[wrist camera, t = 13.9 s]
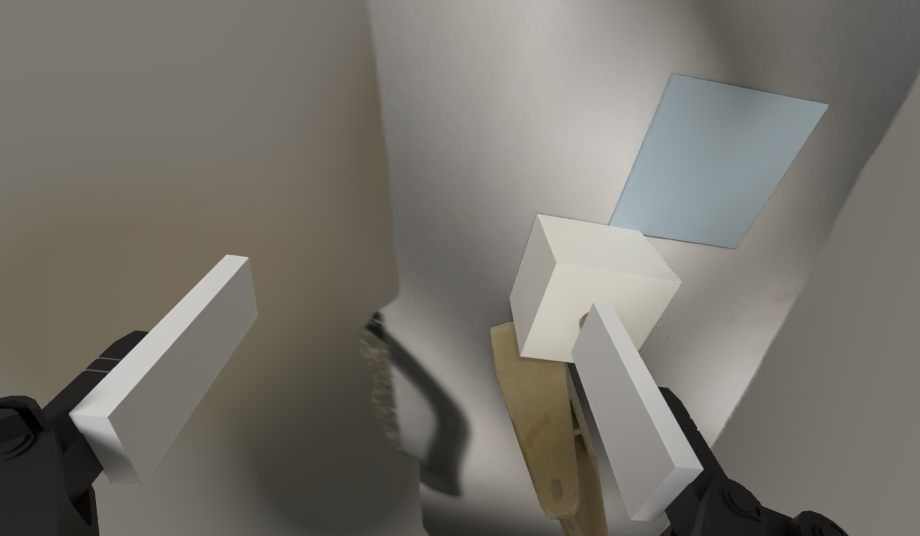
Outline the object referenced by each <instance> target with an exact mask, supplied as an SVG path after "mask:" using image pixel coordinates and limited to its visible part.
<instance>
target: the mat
mask: <svg viewBox="0 0 920 536" xmlns="http://www.w3.org/2000/svg"><path fill="white" fill-rule="evenodd" d="M828 106H829V105H828V104H823V103H818V102H813V101H808V100H803V99H798V98H793V97H788V96H783V95H778V94H773V93H768V92H763V91H758V90H753V89H748V88H743V87H738V86H733V85H728V84H722V83H717V82H712V81H707V80H702V79H697V78H692V77H687V76H682V75H677V74H671V76H670V79H669V81H668V83H667V86H666V88H665V91H664V93H663V95H662V98H661V100H660V103H659V105H658V107H657V110H656V112H655V114H654V117H653V119H652V122H651V124H650V126H649V129H648V131H647V133H646V136H645V138H644V141H643V143H642V145H641V148H640V150H639V153H638V155H637V157H636V160H635V162H634V164H633V167H632V169H631V172H630V174H629V176H628V179H627V181H626V183H625V186H624V188H623V191H622V193H621V195H620V198H619V200H618V203H617V205H616V207H615V210H614V212H613V214H612V217H611V219H610V222H609V224H608V226H613V227H619V228H625V229H631V230H637V231H640V232H641V233H642V234H643V235H649V236H656V237H663V238H669V239H676V240H682V241H689V242H695V243H702V244H709V245H715V246H722V247H728V248H735V249H736V248H737V247H738V245H739V244H740V242H741V241H742V239H743V238H744V236H745V235H746V233H747V231H748V230H749V228H750V227H751V225H752V224H753V222H754V221H755V219H756V218H757V216H758V214H759V213H760V211H761V210H762V208H763V207H764V205H765V204H766V202H767V201H768V199H769V197H770V196H771V194H772V193H773V191H774V190H775V188H776V187H777V185H778V183H779V182H780V180H781V179H782V177H783V176H784V174H785V173H786V171H787V170H788V168H789V166H790V165H791V163H792V162H793V160H794V159H795V157H796V156H797V154H798V153H799V151H800V149H801V148H802V146H803V145H804V143H805V142H806V140H807V139H808V137H809V135H810V134H811V132H812V131H813V129H814V128H815V126H816V125H817V123H818V122H819V120H820V118H821V117H822V115H823V114H824V112H825V111H826V109H827V108H828Z"/></svg>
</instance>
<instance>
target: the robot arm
mask: <svg viewBox="0 0 920 536" xmlns="http://www.w3.org/2000/svg"><path fill="white" fill-rule="evenodd" d="M257 316H258V313H257V308H256V301H255V294H254V288H253V281H252V274H251V268H250V261H249V258H248V257H240V256H233V255H226V256H225V257H224V258H223V259H222V260H221V261H220V262H219V263H218V264H217V265H216V266H215V267H214V268H213V269H212V270H211V271H210V272H209V273H208V274H207V275H206V276H205V277H204V278H203V279H202V280H201V281H200V282H199V283H198V284H197V285H196V286H195V287H194V288H193V289H192V290H191V292H189V293H188V294H187V295H186V296H185V297H184V298H183V299H182V300H181V301H180V302H179V303H178V304H177V305H176V306H175V307H174V308H173V309H172V310H171V311H170V312H169V313H168V314H167V315H166V316H165V317H164V318H163V319H162V320H161V321H160V322H159V323H158V325H156V326H155V327H154V328H153V329H152V330H151V331H150V332H145V331H134V332H132V333H130V334H128V335H126V336H124V337H123V338H121V339H119V340H117V341H116V342H114V343H113V344H112V345H111V346H110V347H109V348H108V349H106V350H105V351H104V352H103V353H102V354H101V355H100V356H99V359H96V360H95V361H94V362H92V364H90V366H88V367H87V368H86V371H84V372H82V373H81V374H80V375H78V376H77V377H76V378H75V379H74V380H73V381H72V382H71V383H70V384H69V385H68V386H67V387H66V388H65V389H63V390H62V391H61V392H60V393H59V394H58V395H57V396H56V397H55V398H54V399H53V400H52V401H51V402H49V403H48V404H47V405H46V406H45V407H44V408H43V409H41V408H40V406H39V405H38V404H37V402H36V401H35V400H34V399H32V398H30V397H27V396H8V397H3V398H0V536H99V527H98V517H97V508H96V499H95V491H94V489H93V487H92V485H91V484H92V483H93V482H94V480H95V479H96V478H97V477H98V475H99V474H100V473H101V472H102V470H103V471H104V473H105V474H106V476H107V478H108V479H109V481H110V482H111V483H124V484H137V485H143V484H144V483H145V481H146V480H147V478H148V477H149V475H150V474H151V472H152V471H153V470H154V468H155V467H156V465H157V464H158V462H159V461H160V459H161V458H162V456H163V455H164V453H165V452H166V450H167V449H168V447H169V446H170V444H171V443H172V441H173V440H174V439H175V437H176V435H177V434H178V433H179V431H180V430H181V428H182V427H183V425H184V424H185V422H186V421H187V419H188V418H189V416H190V415H191V414H192V412H193V410H194V409H195V408H196V406H197V405H198V403H199V402H200V400H201V399H202V397H203V396H204V394H205V393H206V391H207V390H208V388H209V387H210V385H211V384H212V382H213V381H214V380H215V378H216V377H217V375H218V374H219V372H220V371H221V369H222V367H223V366H224V365H225V363H226V362H227V360H228V359H229V357H230V356H231V354H232V353H233V352H234V350H235V349H236V347H237V346H238V344H239V343H240V341H241V340H242V338H243V337H244V335H245V334H246V332H247V331H248V329H249V328H250V327H251V325H252V324H253V322H254V321H255V319H256V318H257ZM571 354H572V357H573V360H574V362H575V365H576V368H577V371H578V374H579V376H580V379H581V382H582V385H583V388H584V390H585V393H586V396H587V399H588V402H589V405H590V407H591V410H592V413H593V416H594V419H595V421H596V424H597V427H598V430H599V433H600V435H601V438H602V441H603V444H604V447H605V450H606V452H607V455H608V458H609V461H610V464H611V466H612V469H613V472H614V475H615V478H616V480H617V483H618V486H619V489H620V492H621V494H622V497H623V500H624V503H625V506H626V509H627V511H628V514H629V517H630V520H640V521H654V522H655V521H656V520H657V519H658V518H659V517H660V516H661V515H662V514H663V513H664V512H666V514H667V516H668V519H669V521H670V523H671V524H670V525H669V526H668V527H667V528H666V529H665V530H664V531H663V532H662V533H661V534H660V535H659V536H848V535H847V533H846V532H845V531H844V530H842V529H841V528H840V527H839V526H838V525H837V524H835V523H834V522H833V521H831V520H830V519H828V518H826V517H825V516H823V515H821V514H818V513H816V512H813V511H802V512H801V513H800V514H798V515H797V516H796V517H794V518H791V517H788V516H786V515H783V514H781V513H778V512H776V511H773V510H771V509H768V508H766V507H763V506H761V504H760V502H759V501H758V500H757V499H756V498H755V496H754V495H753V494H752V493H751V492H750V491H749V490H747V489H746V488H745V487H743V486H742V485H741V484H739V483H737V482H735V481H733V480H731V479H728V477H727V476H726V475H725V473H724V471H723V470H722V468H721V467H720V465H719V463H718V461H717V460H716V458H715V456H714V455H713V453H712V451H711V450H710V448H709V446H708V445H707V443H706V442H705V440H704V438H703V437H702V435H701V433H700V432H699V431H697V427H696V425H695V423H694V422H693V420H692V419H690V415H689V413H688V412H687V410H686V408H685V407H684V405H683V403H682V402H681V401H680V400H679V399H678V398H677V397H676V396H675V395H674V394H673V393H672V392H671V391H670V390H669V389H668V388H664V387H657V385H656V384H655V382H654V380H653V378H652V376H651V375H650V373H649V371H648V369H647V368H646V366H645V364H644V362H643V360H642V359H641V357H640V355H639V353H638V351H637V350H636V348H635V346H634V344H633V343H632V341H631V339H630V337H629V335H628V334H627V332H626V330H625V328H624V327H623V325H622V323H621V321H620V319H619V318H618V316H617V314H616V312H615V310H614V309H613V307H612V305H607V304H599V303H593V304H592V307H591V309H590V311H589V313H588V315H587V318H586V320H585V322H584V324H583V327H582V329H581V331H580V333H579V335H578V338H577V340H576V342H575V344H574V346H573V349H572V351H571Z"/></svg>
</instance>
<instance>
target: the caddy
mask: <svg viewBox="0 0 920 536" xmlns="http://www.w3.org/2000/svg"><path fill="white" fill-rule="evenodd" d="M490 333H491V343H492V351H493V358H494V368H495V374H496V378H497V381H498V383H499V386H500V389H501V392H502V395H503V398H504V401H505V404H506V406H507V409H508V412H509V415H510V418H511V421H512V424H513V427H514V430H515V433H516V436H517V439H518V442H519V445H520V448H521V451H522V454H523V457H524V460H525V462H526V465H527V468H528V471H529V474H530V477H531V480H532V483H533V485H534V488H535V491H536V494H537V497H538V500H539V503H540V506H541V508H542V509H543V511H544V512H545V514H546V515H547V516H548V517H549V518H551V519H559V521H560V524H561V527H562V529H563V532H564V535H565V536H608V530H607V523H606V517H605V510H604V503H603V497H602V491H601V484H600V478H599V472H598V464H597V459H596V455H595V452H594V449H593V445H592V442H591V438H590V435H589V431H588V428H587V424H586V421H585V418H584V415H583V411H582V408H581V405H580V402H579V399H578V396H577V393H576V389H575V386H574V383H573V380H572V377H571V374H570V371H569V368H568V365H567V362H562V361H554V360H546V359H537V358H529V357H521V356H520V353H519V348H518V342H517V337H516V331H515V326H514V321H511V322H507V323H504V324H501V325H497V326H494V327H491V328H490Z"/></svg>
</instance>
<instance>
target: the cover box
mask: <svg viewBox="0 0 920 536" xmlns="http://www.w3.org/2000/svg"><path fill="white" fill-rule="evenodd" d="M681 283H682V281H681V280H680V279H679V278H678V276H677V275H676V274H675V273H674V272H673V270H672V269H671V268H670V267H669V266H668V264H667V263H666V262H665V261H664V259H663V258H662V257H661V256H660V255H659V253H658V252H657V251H656V250H655V249H654V247H653V246H652V245H651V244H650V243H649V241H648V240H647V239H646V238H645V237H644V235H643V234H642V233H641V232H640V231H637V230H631V229H625V228H619V227H613V226H607V225H601V224H595V223H589V222H583V221H577V220H571V219H565V218H559V217H553V216H547V215H541V214H537V216H536V219H535V222H534V225H533V228H532V231H531V234H530V237H529V240H528V244H527V247H526V250H525V253H524V256H523V259H522V262H521V265H520V268H519V271H518V274H517V277H516V280H515V283H514V286H513V289H512V292H511V295H510V304H511V309H512V315H513V320H514V326H515V331H516V337H517V342H518V348H519V353H520V356H521V357H529V358H537V359H546V360H554V361H562V362H570V363H575V362H574V360H573V357H572V354H571V351H572V349H573V346H574V344H575V342H576V340H577V338H578V335H579V333H580V331H581V329H582V327H583V324H584V322H585V320H586V318H587V315H588V313H589V311H590V309H591V307H592V304H593V303H599V304H607V305H612V307H613V309H614V310H615V312H616V314H617V316H618V318H619V319H620V321H621V323H622V325H623V327H624V328H625V330H626V332H627V334H628V335H629V337H630V339H631V341H632V343H633V344H634V346H635V348H636V350H637V351H639V349H640V348H641V346H642V345H643V343H644V342H645V340H646V338H647V337H648V335H649V334H650V332H651V331H652V329H653V327H654V326H655V324H656V323H657V321H658V320H659V318H660V316H661V315H662V313H663V312H664V310H665V309H666V307H667V305H668V304H669V302H670V301H671V299H672V298H673V296H674V294H675V293H676V291H677V290H678V288H679V287H680V285H681Z"/></svg>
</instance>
